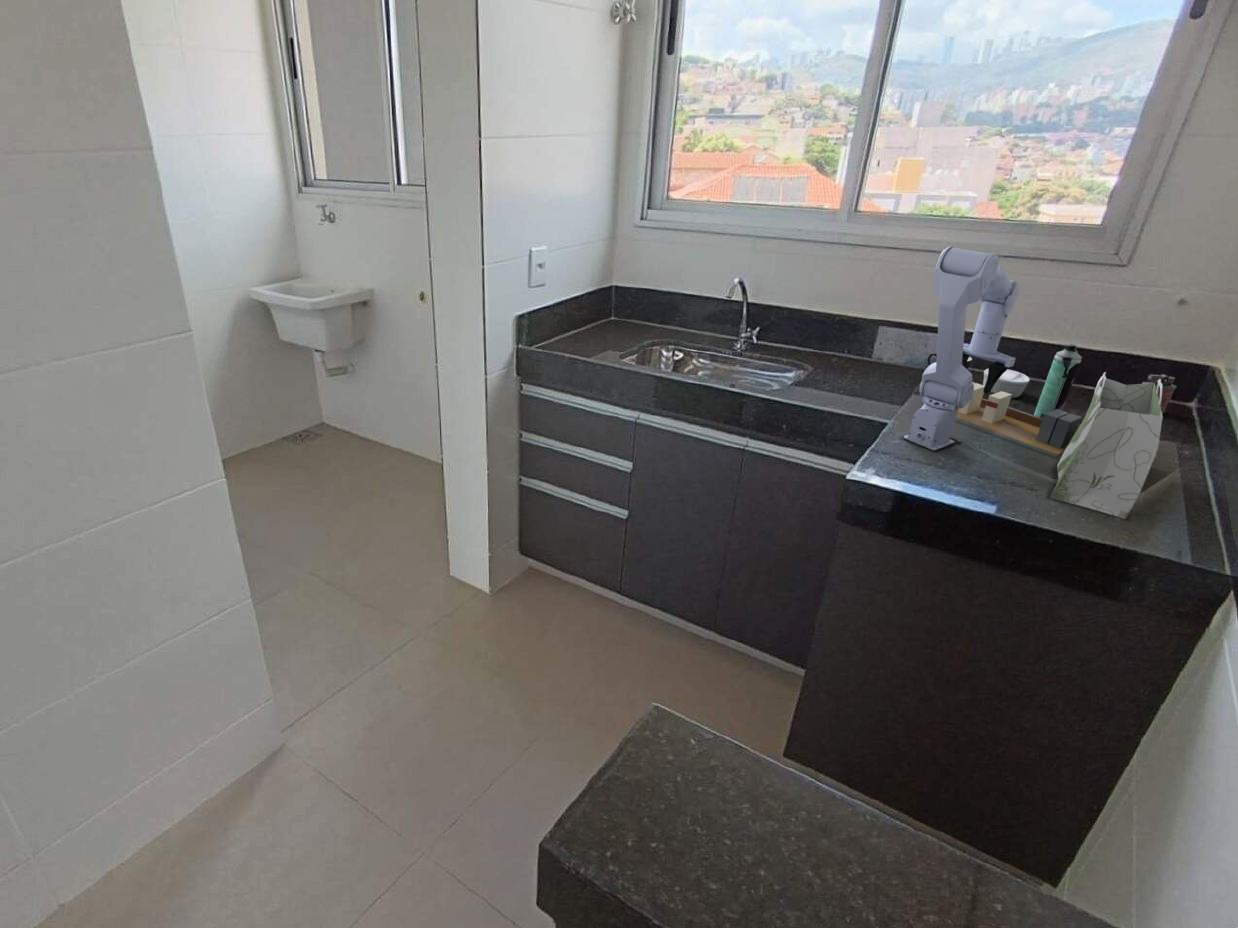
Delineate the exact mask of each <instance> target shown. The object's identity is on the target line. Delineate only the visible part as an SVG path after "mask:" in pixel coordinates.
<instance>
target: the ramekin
mask: <svg viewBox="0 0 1238 928" xmlns="http://www.w3.org/2000/svg"><path fill="white" fill-rule="evenodd" d="M988 371H989V368H986V369H985V370H984V371H983V383H982V385H984V386H985V384H986V381H987V377H988ZM1030 380H1031V378H1030V377H1029V376H1027V375H1026V374H1024V373H1022V372H1019V371H1016V370H1012V369H1009V368H1008V369H1007V370H1006V371H1005V372H1004V373H1003V374H1002V375H1001V377H1000V378H999V379H998V380H997V382H996V383H995V385H994V386H993V388H992V390H991V392H990V393H993V394H995V393H998V392H1001V391H1003V392H1006V393H1009V394H1012V396H1011V399H1017V398H1019V397H1020V396H1022V394H1023V392H1024V390H1025V389H1026V387H1027V386H1028V384H1030Z"/></svg>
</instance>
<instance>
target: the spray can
mask: <svg viewBox="0 0 1238 928" xmlns="http://www.w3.org/2000/svg"><path fill="white" fill-rule="evenodd" d="M1078 352H1079V351H1078V350H1077V345H1076V344H1068V345H1067V347H1065V348H1063V350H1061V351H1056V353H1055V355H1054V357H1053V360H1052V362H1051V366H1050V369H1049V370H1048V373H1047V377H1046V379H1045V382H1044V385H1043V388H1042V391H1041V394H1040V396H1039V399H1038V402H1037V405H1036V407H1035V411H1034V413H1033V415H1035V416H1038V417H1041V418H1044V416H1045V414H1046V413H1049V412H1051V411H1053V410H1056V409H1059V410H1062V411H1064V407H1065V405H1066V403H1067V400H1068V396H1069V394H1070V391H1071V389H1072V386H1073V384H1074V381H1075V378H1076V376H1077V373H1078V370H1079V367H1080V365H1081V363H1082V358H1083V356H1082V355H1080V354H1079V353H1078Z"/></svg>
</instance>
